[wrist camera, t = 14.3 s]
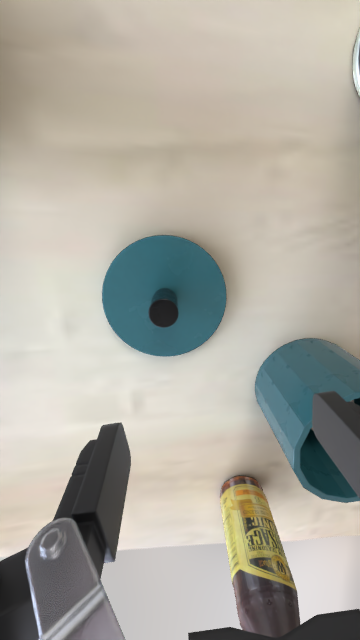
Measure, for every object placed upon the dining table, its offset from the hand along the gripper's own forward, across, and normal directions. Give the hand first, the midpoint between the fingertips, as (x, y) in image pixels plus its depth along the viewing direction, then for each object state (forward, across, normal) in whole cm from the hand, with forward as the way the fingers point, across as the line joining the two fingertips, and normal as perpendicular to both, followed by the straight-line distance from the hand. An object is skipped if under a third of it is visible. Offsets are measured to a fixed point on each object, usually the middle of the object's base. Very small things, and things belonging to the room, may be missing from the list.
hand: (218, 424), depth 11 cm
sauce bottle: (+18, -3, +28) cm, 33 cm away
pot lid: (+18, +2, -1) cm, 18 cm away
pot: (+18, -12, +12) cm, 25 cm away
